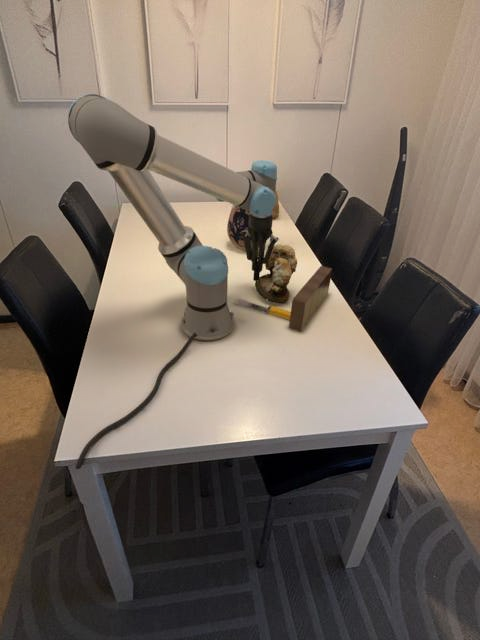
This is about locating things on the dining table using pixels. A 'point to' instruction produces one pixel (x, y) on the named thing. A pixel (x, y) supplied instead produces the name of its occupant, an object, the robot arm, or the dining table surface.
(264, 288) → the beige stone figure
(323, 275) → the walnut rail
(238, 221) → the ceramic pitcher
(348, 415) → the dining table surface
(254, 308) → the yellow handled chisel
